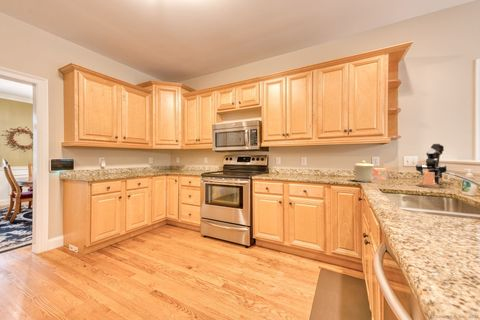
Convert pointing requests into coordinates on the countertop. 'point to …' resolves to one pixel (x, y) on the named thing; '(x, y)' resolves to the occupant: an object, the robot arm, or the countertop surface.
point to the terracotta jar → (429, 178)
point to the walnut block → (429, 186)
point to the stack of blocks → (379, 174)
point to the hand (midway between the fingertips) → (429, 175)
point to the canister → (363, 172)
